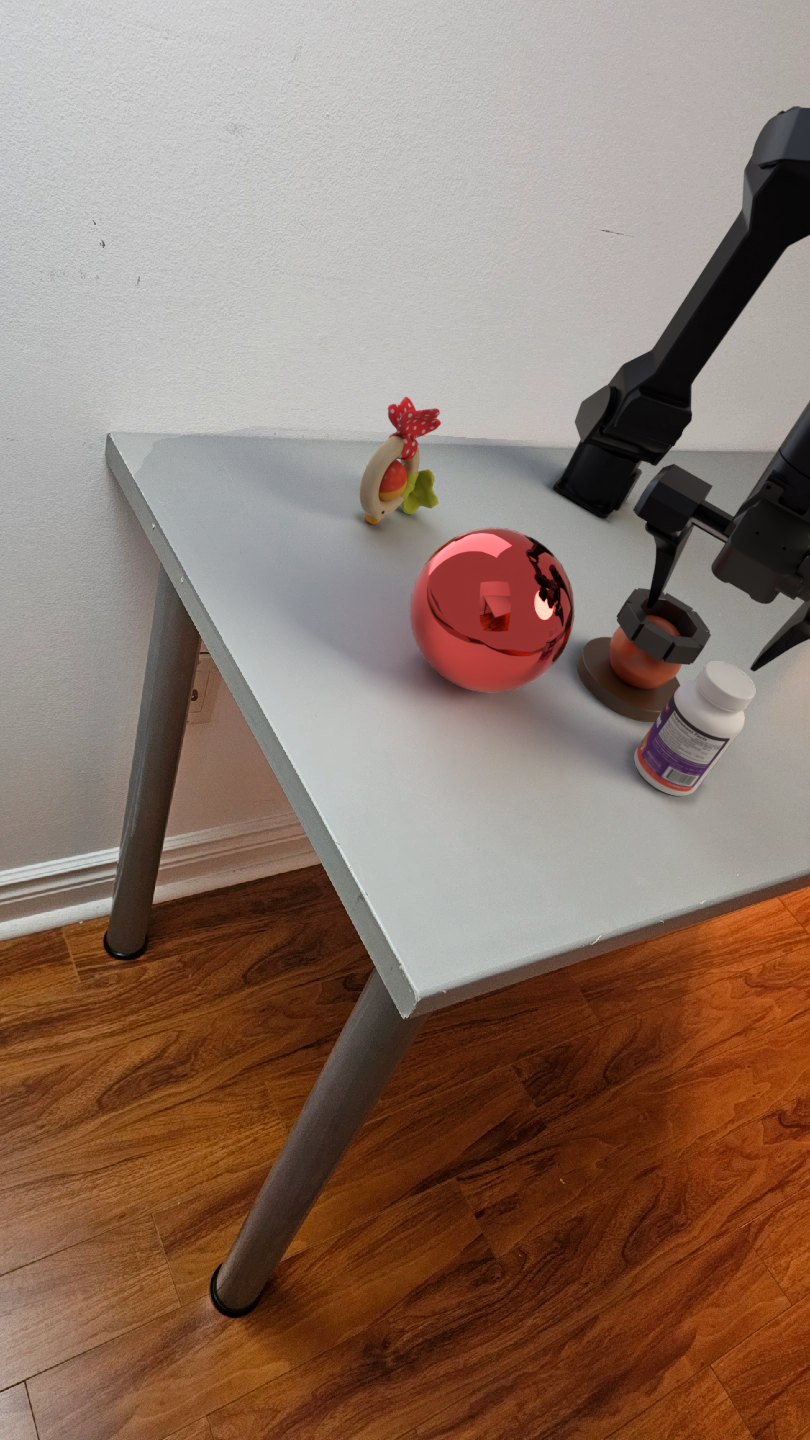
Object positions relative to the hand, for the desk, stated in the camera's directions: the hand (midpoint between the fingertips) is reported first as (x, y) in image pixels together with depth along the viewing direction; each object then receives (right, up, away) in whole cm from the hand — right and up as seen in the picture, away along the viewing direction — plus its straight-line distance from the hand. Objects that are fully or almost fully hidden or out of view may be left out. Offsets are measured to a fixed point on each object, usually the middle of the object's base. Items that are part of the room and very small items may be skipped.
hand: (700, 637), depth 83 cm
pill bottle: (-3, -10, -2) cm, 11 cm away
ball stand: (-5, -3, +5) cm, 8 cm away
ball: (-19, -3, -2) cm, 19 cm away
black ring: (-3, 0, +2) cm, 3 cm away
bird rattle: (-25, +12, +11) cm, 30 cm away
